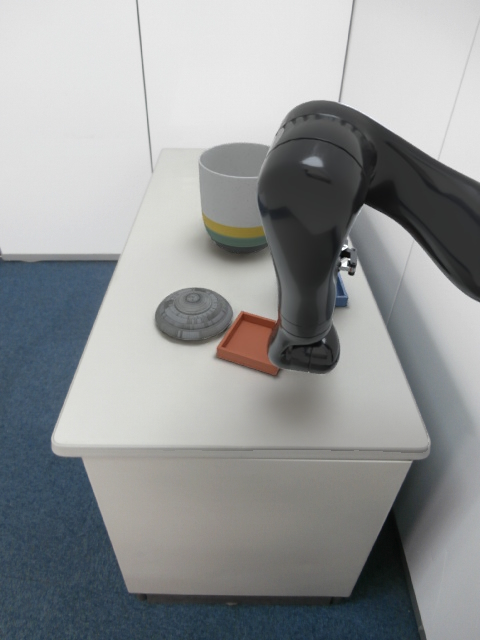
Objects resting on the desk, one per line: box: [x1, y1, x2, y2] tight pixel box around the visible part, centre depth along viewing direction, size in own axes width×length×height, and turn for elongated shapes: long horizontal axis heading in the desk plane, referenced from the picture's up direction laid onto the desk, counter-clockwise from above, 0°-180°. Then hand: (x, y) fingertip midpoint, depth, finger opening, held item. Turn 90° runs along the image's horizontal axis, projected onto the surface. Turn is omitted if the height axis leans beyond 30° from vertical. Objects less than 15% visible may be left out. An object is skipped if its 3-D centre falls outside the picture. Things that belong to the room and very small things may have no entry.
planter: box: [197, 141, 271, 255], centre depth 102 cm, size 20×20×21 cm
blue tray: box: [335, 271, 349, 307], centre depth 96 cm, size 11×11×2 cm
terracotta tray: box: [216, 310, 280, 377], centre depth 82 cm, size 11×11×2 cm
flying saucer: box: [154, 286, 234, 341], centre depth 87 cm, size 15×15×6 cm
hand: (322, 237), depth 90 cm, fingers closed on battery charger, 7 cm apart
